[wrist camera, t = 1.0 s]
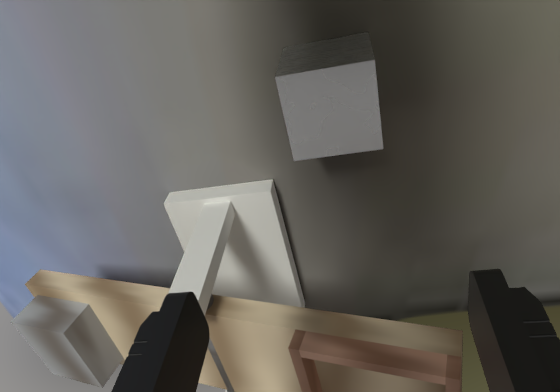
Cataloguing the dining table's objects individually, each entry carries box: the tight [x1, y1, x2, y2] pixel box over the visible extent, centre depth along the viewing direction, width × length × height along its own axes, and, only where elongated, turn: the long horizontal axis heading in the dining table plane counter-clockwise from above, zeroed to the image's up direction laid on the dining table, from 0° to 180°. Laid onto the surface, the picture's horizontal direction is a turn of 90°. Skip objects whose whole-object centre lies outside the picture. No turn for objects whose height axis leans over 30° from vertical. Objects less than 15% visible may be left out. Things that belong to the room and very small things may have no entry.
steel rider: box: [275, 32, 383, 161], centre depth 26 cm, size 5×5×5 cm
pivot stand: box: [164, 179, 305, 392], centre depth 32 cm, size 8×13×12 cm, turn 12°
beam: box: [11, 270, 463, 392], centre depth 28 cm, size 29×9×4 cm, turn 102°
